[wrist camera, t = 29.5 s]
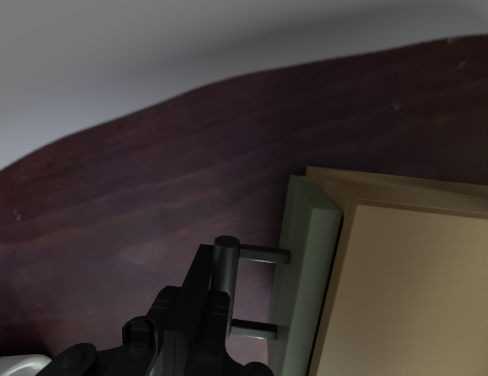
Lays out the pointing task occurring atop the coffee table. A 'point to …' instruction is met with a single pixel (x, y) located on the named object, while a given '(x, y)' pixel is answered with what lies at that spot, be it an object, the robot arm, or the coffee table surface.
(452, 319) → the cabinet
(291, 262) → the drawer
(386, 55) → the coffee table surface
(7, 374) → the mug
